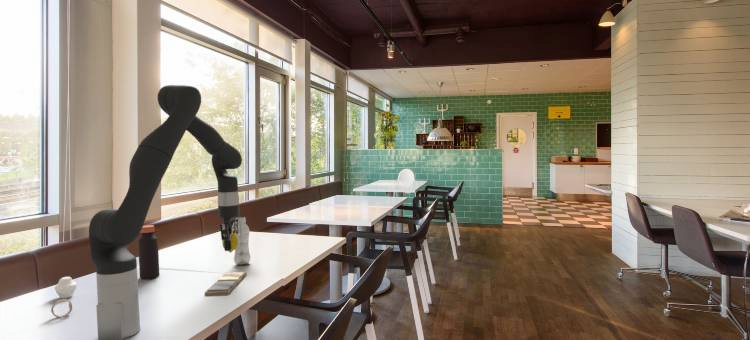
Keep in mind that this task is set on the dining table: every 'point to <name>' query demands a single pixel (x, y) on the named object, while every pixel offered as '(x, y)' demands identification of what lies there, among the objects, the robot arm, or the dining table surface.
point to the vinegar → (148, 253)
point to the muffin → (65, 287)
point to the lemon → (232, 242)
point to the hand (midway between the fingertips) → (230, 248)
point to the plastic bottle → (242, 243)
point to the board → (226, 283)
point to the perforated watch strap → (66, 313)
